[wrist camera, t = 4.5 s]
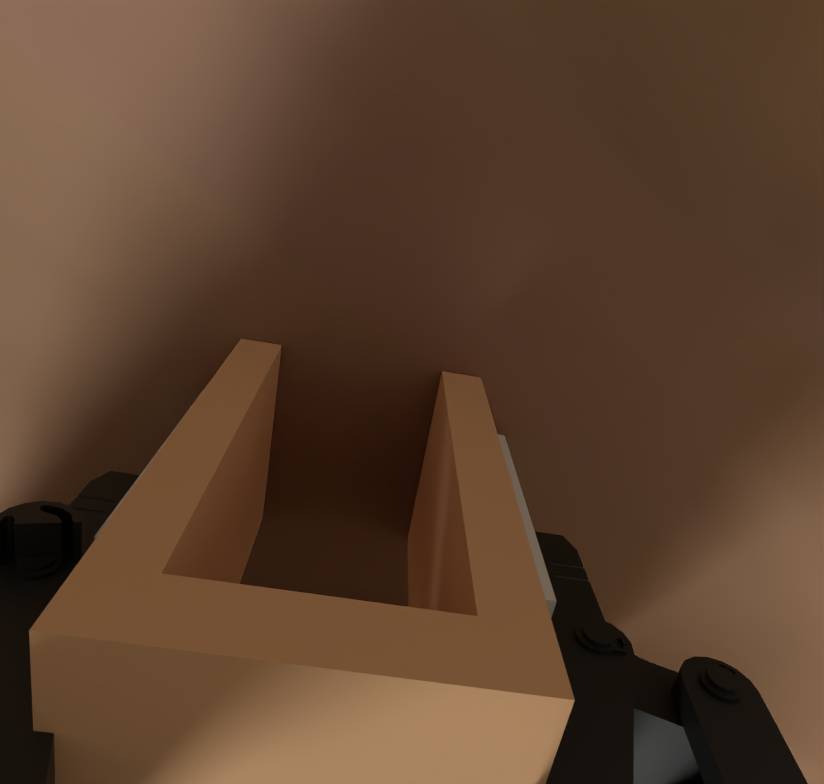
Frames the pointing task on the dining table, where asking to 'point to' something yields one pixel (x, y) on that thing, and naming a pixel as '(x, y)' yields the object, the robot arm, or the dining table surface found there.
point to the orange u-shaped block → (301, 624)
